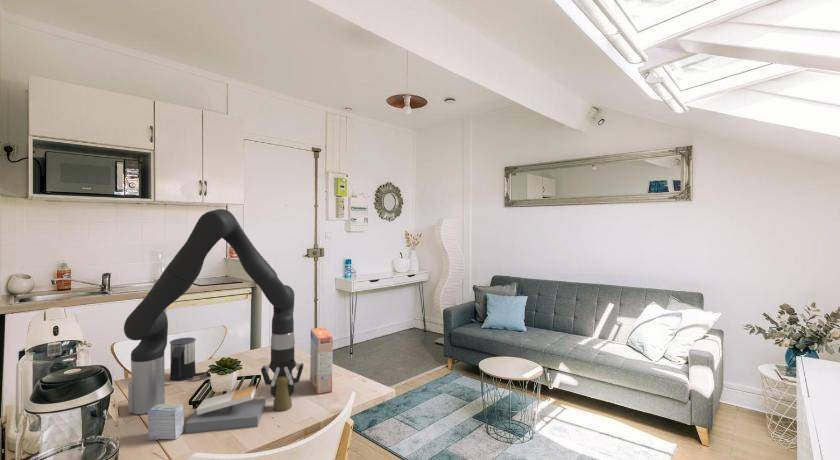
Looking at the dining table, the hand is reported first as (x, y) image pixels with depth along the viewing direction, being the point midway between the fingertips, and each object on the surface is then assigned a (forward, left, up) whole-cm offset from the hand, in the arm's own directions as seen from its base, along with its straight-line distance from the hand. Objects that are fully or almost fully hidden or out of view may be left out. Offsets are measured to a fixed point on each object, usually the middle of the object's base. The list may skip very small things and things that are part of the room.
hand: (282, 395), depth 134 cm
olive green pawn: (0, 0, -4) cm, 4 cm away
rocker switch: (-16, -5, +1) cm, 17 cm away
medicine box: (-31, -12, -4) cm, 33 cm away
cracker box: (+12, +15, -4) cm, 20 cm away
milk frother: (-39, +34, -5) cm, 52 cm away
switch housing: (-16, -5, -4) cm, 17 cm away
